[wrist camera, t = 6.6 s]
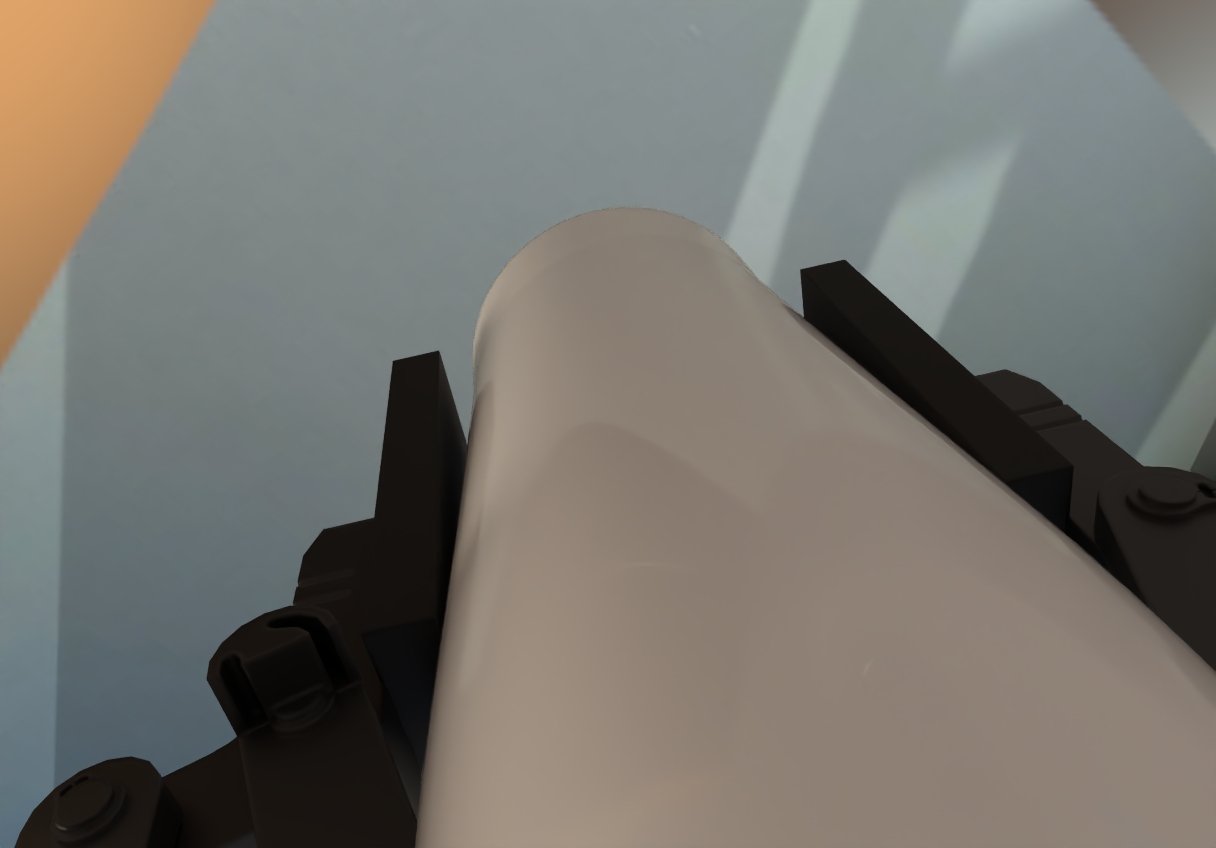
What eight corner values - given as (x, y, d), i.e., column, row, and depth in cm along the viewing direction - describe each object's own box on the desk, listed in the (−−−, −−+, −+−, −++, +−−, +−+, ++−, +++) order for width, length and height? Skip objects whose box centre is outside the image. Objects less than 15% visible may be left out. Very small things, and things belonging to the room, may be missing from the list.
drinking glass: (411, 475, 18) (318, 1891, 5) (457, 120, 15) (506, 1384, 2) (739, 507, 20) (1297, 1665, 7) (840, 190, 17) (2197, 1181, 4)
